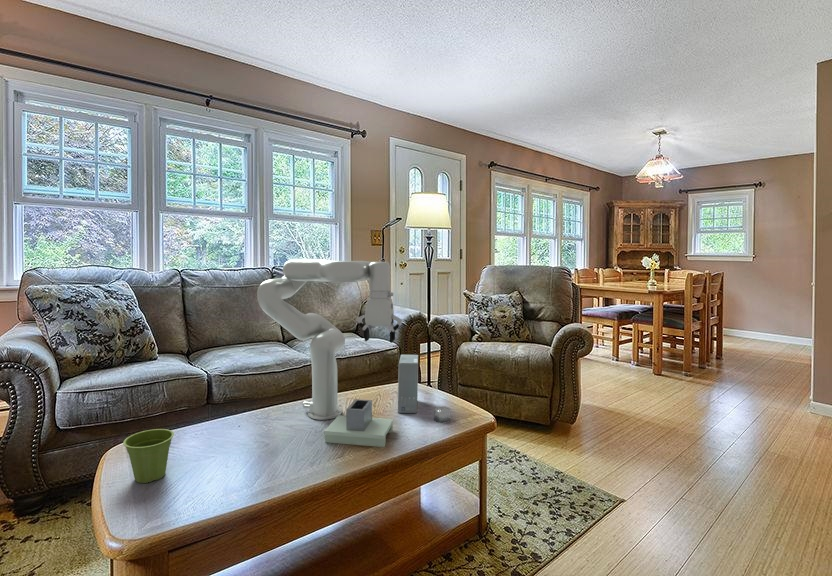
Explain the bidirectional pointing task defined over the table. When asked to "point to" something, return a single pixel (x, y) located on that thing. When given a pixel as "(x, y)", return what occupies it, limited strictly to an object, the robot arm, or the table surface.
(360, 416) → the housing
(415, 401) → the hard drive box
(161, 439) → the plant pot
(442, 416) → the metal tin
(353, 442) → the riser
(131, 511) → the table surface
